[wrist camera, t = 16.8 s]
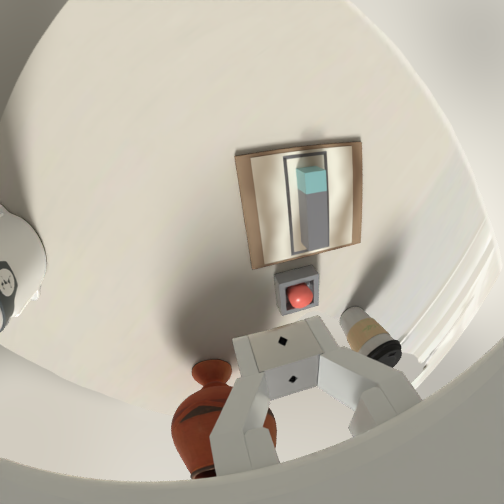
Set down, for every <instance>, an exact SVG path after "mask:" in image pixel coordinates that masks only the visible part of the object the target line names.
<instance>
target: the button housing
mask: <svg viewBox="0 0 504 504" xmlns="http://www.w3.org/2000/svg"><path fill="white" fill-rule="evenodd" d="M274 282H275V291H276V301H277V307H278V309H279V311H280V313H281V315H282V316H283V315H287V314H291V313H294V312H298V311H301V310H305V309H308V308H311V307H315V306H318V301H319V273H318V272H317V271H316V270H315V268H314V267H313V266H312V265H310V266H306V267H302V268H298V269H294V270H290V271H286V272H282V273H278V274H274ZM303 282H305V283H306V284H307V286H308V287H309V289H310V290H311V292H312V293H313V299H312V301H311V302H310V304H309V305H307V306H306V307H303V308H295V307H293V306H292V304H291V303H290V301H289V299H288V297H287V295H286V290H287V288H288V286H292V285H296V284H300V283H303Z"/></svg>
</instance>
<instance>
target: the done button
mask: <svg viewBox="0 0 504 504" xmlns="http://www.w3.org/2000/svg"><path fill="white" fill-rule="evenodd" d="M286 295H287V297H288V299H289V301H290V303H291V304H292V306H293V307H295V308H303V307H306V306H307V305H309V304H310V302H311V301H312V299H313V293H312V292H311V290H310V289H309V287H308V286H307V284H306V283H305V282H303V283H300V284H296V285H292V286H288V288H287V290H286Z"/></svg>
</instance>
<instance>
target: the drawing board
mask: <svg viewBox="0 0 504 504" xmlns="http://www.w3.org/2000/svg"><path fill="white" fill-rule="evenodd" d="M234 157H235V163H236V170H237V176H238V182H239V189H240V195H241V202H242V208H243V214H244V221H245V227H246V234H247V240H248V246H249V253H250V259H251V265H252V269H258V268H262V267H266V266H270V265H274V264H278V263H282V262H286V261H291V260H295V259H299V258H303V257H307V256H311V255H315V254H319V253H323V252H327V251H331V250H335V249H339V248H342V247H346V246H350V245H354V244H358V243H360V241H361V223H362V142H344V143H331V144H320V145H310V146H301V147H292V148H284V149H277V150H270V151H263V152H256V153H250V154H244V155H238V156H234ZM311 166H317V167H320V168H322V169H324V170H326V183H327V214H328V247H325V248H321V249H316V250H312V251H308V250H307V248H306V247H305V246H304V245H303V244H302V243H301V231H300V215H299V201H298V188H297V176H296V169H297V168H304V167H311Z"/></svg>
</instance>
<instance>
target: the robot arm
mask: <svg viewBox="0 0 504 504" xmlns="http://www.w3.org/2000/svg"><path fill="white" fill-rule="evenodd" d="M45 273H46V255H45V251H44V248H43V245H42V243H41V241H40V239H39V237H38V235H37V234H36V232H35V231H34V229H33V228H32V227H31V226H30V225H29V224H28V223H27V222H26V221H25V220H23V219H22V218H20V217H19V216H16V215H14V214H11V213H9V212H8V211H7V210H6V209H5V208H4V207H3V206H2V205H1V204H0V332H1V331H3V329H4V328H5V327H6V326H7V324H8V323H9V321H10V318H11V316H12V317H13V316H16V317H17V316H19V315H20V313H21V312H22V311H23V309H24V308H25V306H26V305H27V304H28V302H29V301H30V300H37V299H38V298H39V297H40V285H41V282H42V280H43V278H44V276H45ZM232 341H233V346H234V350H235V354H236V358H237V362H238V366H239V370H240V374H241V378H237V379H236V382H235V384H234V386H233V388H232V390H231V392H230V395H229V397H228V399H227V401H226V403H225V405H224V407H223V409H222V412H221V414H220V416H219V418H218V420H217V422H216V424H215V426H214V428H213V430H212V432H211V434H210V436H209V437H210V443H211V449H212V455H213V460H214V465H215V471H216V476H217V477H210V478H201V479H192V480H180V481H160V482H159V481H158V482H135V481H134V482H133V481H113V480H100V479H92V478H84V477H78V476H71V475H66V474H60V473H55V472H51V471H46V470H42V469H38V468H34V467H30V466H27V465H23V464H20V463H17V462H14V461H11V460H8V459H5V458H0V504H504V337H503V338H502V339H501V340H500V341H499V342H498V343H497V344H495V345H494V346H493V347H492V348H491V349H490V350H489V351H488V352H487V353H486V354H484V355H483V356H482V357H481V358H480V359H479V360H477V361H476V362H475V363H474V364H473V365H471V366H470V367H469V368H468V369H466V370H465V371H464V372H463V373H461V374H460V375H459V376H457V377H456V378H455V379H453V380H452V381H451V382H449V383H448V384H447V385H445V386H444V387H442V388H441V389H439V390H438V391H436V392H435V393H433V394H432V395H430V396H429V397H427V398H426V399H424V400H422V399H421V398H420V396H419V395H418V393H417V392H416V390H415V389H414V388H413V386H412V385H411V383H410V382H409V381H408V379H407V378H406V376H405V375H404V374H403V372H401V371H399V370H396V369H394V368H392V367H390V366H387V365H385V364H383V363H380V362H378V361H376V360H373V359H371V358H369V357H367V356H364V355H362V354H360V353H358V352H355V351H353V350H351V349H349V348H347V347H344V346H343V347H339V346H338V344H337V343H336V341H335V339H334V338H333V336H332V335H331V333H330V331H329V330H328V328H327V327H326V326H325V324H324V322H323V320H322V319H321V317H320V316H318V315H317V316H313V317H311V318H307V319H304V320H300V321H297V322H294V323H290V324H287V325H284V326H280V327H277V328H274V329H270V330H266V331H262V332H258V333H253V334H249V335H246V336H241V337H237V338H232ZM316 386H317V387H318V388H319V389H321V390H322V391H324V392H325V393H327V394H328V395H330V396H332V397H333V398H334V399H336V400H338V401H339V402H341V403H342V404H344V405H345V406H347V407H348V408H350V409H352V410H353V411H355V413H354V416H353V418H352V421H351V423H350V425H349V430H350V432H351V434H352V436H353V438H351V439H348V440H346V441H343V442H341V443H339V444H336V445H334V446H331V447H328V448H326V449H323V450H320V451H318V452H315V453H312V454H309V455H306V456H303V457H300V458H296V459H293V460H290V461H286V462H283V463H280V461H279V459H278V456H277V453H276V450H275V447H274V444H273V441H272V438H271V435H270V432H269V429H267V428H264V427H263V424H264V421H265V418H266V414H267V411H268V408H269V405H270V401H271V400H274V399H277V398H280V397H284V396H287V395H290V394H293V393H296V392H299V391H303V390H306V389H309V388H312V387H316Z"/></svg>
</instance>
